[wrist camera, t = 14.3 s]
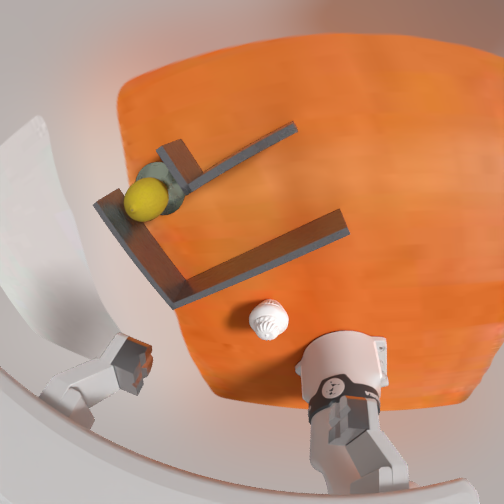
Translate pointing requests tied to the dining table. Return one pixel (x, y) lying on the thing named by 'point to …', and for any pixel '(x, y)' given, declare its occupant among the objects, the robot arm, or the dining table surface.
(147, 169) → the rail corridor
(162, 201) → the lemon
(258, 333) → the white rounded piece
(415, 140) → the dining table surface
